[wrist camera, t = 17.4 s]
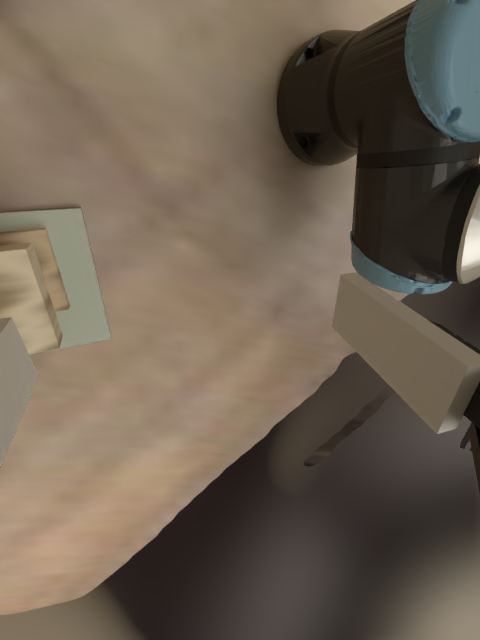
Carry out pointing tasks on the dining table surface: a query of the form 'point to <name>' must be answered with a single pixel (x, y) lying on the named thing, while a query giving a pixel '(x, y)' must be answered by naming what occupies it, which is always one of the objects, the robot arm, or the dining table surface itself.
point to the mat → (69, 271)
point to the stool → (32, 288)
